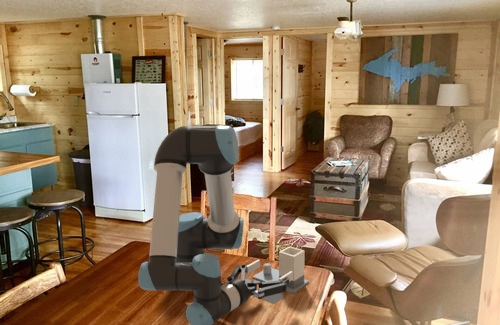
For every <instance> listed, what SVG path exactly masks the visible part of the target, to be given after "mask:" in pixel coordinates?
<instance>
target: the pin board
mask: <svg viewBox="0 0 500 325" xmlns="http://www.w3.org/2000/svg"><path fill="white" fill-rule="evenodd" d="M262 265H263V267H262V268H263V270H261V271H260V272H258V273H256V274H255V275H253V276H252V278H253V279H254V280H256V281H261V282H268V281H278V280H279V269H276V268H273V267H272V264H271V263H270V262H269V263H266V262H265V263H263V264H262ZM309 283H310V280H308V279H305V278H304V283H302V284H301V285H299V286H298V287H296V288H295V289H292V288H290V287H287V291H286V292H288V293H291V294H294V293H297V291H299V290H300V289H301V288H304V286H306V285H308V284H309Z"/></svg>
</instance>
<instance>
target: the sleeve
mask: <svg viewBox="0 0 500 325" xmlns="http://www.w3.org/2000/svg"><path fill="white" fill-rule="evenodd" d="M305 253H306V252H305V250H304V249H301V248H296V247H293V246H288V247H286V248H284V249H282V250H280V251H279V252H278V270H279V278H281V277H282V276H284V275H285V274H287V273H289V272H290V271H292V272H293V280H291V281H290V282H289V283H288V284H287V287H290V288H292V289H295V288H296V287H298V286H299V285H301V284H302V283H304V279H305Z"/></svg>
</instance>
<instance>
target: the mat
mask: <svg viewBox="0 0 500 325" xmlns="http://www.w3.org/2000/svg"><path fill="white" fill-rule="evenodd" d="M253 296H254V297H256V298H258V296H257V295H252V297H253ZM285 297H287V295H286V294H284V293H279V294H275V295H271V296H267V297H264V298H262V299H261V300H262V301H265V302H268V303H270V304H272V305H275V304H276V303H278V302H280V301H281V300H283V298H285Z"/></svg>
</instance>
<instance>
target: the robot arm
mask: <svg viewBox="0 0 500 325" xmlns="http://www.w3.org/2000/svg"><path fill="white" fill-rule="evenodd" d="M239 150H240V149H239V142H238V136H237V133H236V130H235V128H233V127H232V126H230V125H221V124H219V125H182V126H179V127H177V128H175V129H173V130H172V131H170V132H169V133H168V134H167V135H166V136H165V138H164V139H163V140H162V141H161V143H160V144H159V146H158V149H157V151H156V153H155V158H154V162H153V169H154V170H155V172H156V178H155V179H156V181H155V189H154V190H155V192H154V200H153V212H152V223H151V224H152V225H151V232H150V233H151V236H150V245H149V258H148V261H144V262H142V263H141V265H140V267H139V270H138V276H137V277H138V278H137V279H138V285H139V287H140V288H141V289H142V290H143V291H155V292H158V291H179V292H181V291H182V292H184V291H186V292H193V299H194V300H193V301H192V302H191V303H189V304H188V305H187V307H186V310H185V315H186V319H187V321H188V323H189V325H213V324H215V323H216V322H217V321H219V320H220V319H221V318H223V317H224V316H226V315H228V314H229V313H230V312H232V311H233V310H235V309H237V308H238V307H241V305H242V306H243V304H246V303H247V301H249V299H250V298H251V296H252V297H253V295H257V296H258V297H257V299H258V300H263V299H262V298H264V297H267V296H271V295H275V294H279V293H281V294H284V293H286V292H288V291H287V284H288V283H289V282H290V281H291V280H293V272H292V271H290V272H289V273H287V274H285V275H284V276H282V277H281V278H279V280H278V281H268V282H262V281H259V280H251V278H246V275H249V274H251V273H254V272H255V271H256V270H258V269H260V268H261V259H257V260H255V261H253V262H251V263H250V264H247V265H246V264H245V263H243V264H241V265H236V266H235V268H234V269H233V271H232V273H231V274H230V276H228V277H227V278H226V280H227V281H226V283H224V284H223V285H222V278H221V277H222V270H221V263H220V258H219V257H218V256H217V255H216V254H214V253H210V252H206V250H231V251H232V250H236V249H237V250H238V249H240V248H241V247H242V243H243V233H244V221H245V220H244V218H243V217H241V216H239V214H238V212H237V211H236V210H235V203H234V202H235V200H234V192H233V182H232V181H233V180H232V170H233V168H234V167H235V164H237V163H238V162H239V158H240V152H239ZM189 164H190V165H195V164H197V166H198V169H199V170H200V172H202V173H203V174H204V179H205V186H206V193H207V200H208V207H209V211H210V212H209V214H208V217H205V216H204V214H203V213H202V212H199V211H193V212H186V213H184V214H180V213H181V212H180V211H181V199H182V188H183V186H182V185H183V175H184V174H185V173H186V172H187V165H189ZM240 274H241V275H240ZM239 275H240V278H238V277H239Z"/></svg>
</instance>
